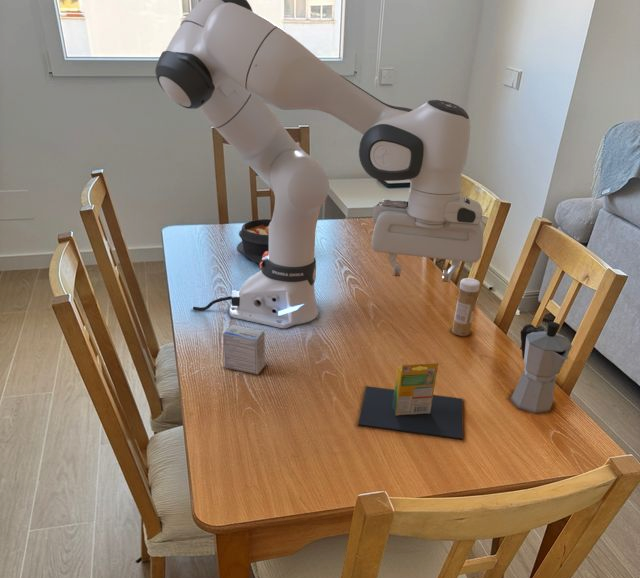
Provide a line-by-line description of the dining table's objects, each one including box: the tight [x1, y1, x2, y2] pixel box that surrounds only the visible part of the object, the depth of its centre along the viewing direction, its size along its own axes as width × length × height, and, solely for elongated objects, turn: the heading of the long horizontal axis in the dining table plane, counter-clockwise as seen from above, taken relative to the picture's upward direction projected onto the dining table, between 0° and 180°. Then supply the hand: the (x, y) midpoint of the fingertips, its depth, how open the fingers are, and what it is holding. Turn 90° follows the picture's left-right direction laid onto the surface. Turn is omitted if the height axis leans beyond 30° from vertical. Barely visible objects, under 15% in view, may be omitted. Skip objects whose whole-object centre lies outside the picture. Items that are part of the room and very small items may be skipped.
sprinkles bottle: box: [451, 277, 481, 337], centre depth 152 cm, size 5×5×14 cm
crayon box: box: [392, 362, 439, 416], centre depth 123 cm, size 7×3×12 cm, turn 100°
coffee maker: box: [509, 321, 573, 414], centre depth 127 cm, size 15×9×18 cm, turn 17°
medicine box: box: [222, 324, 266, 375], centre depth 135 cm, size 8×4×9 cm, turn 71°
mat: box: [357, 386, 464, 441], centre depth 127 cm, size 20×14×1 cm
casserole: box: [236, 218, 272, 264], centre depth 190 cm, size 25×19×8 cm
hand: (420, 278), depth 120 cm, fingers open, 8 cm apart
